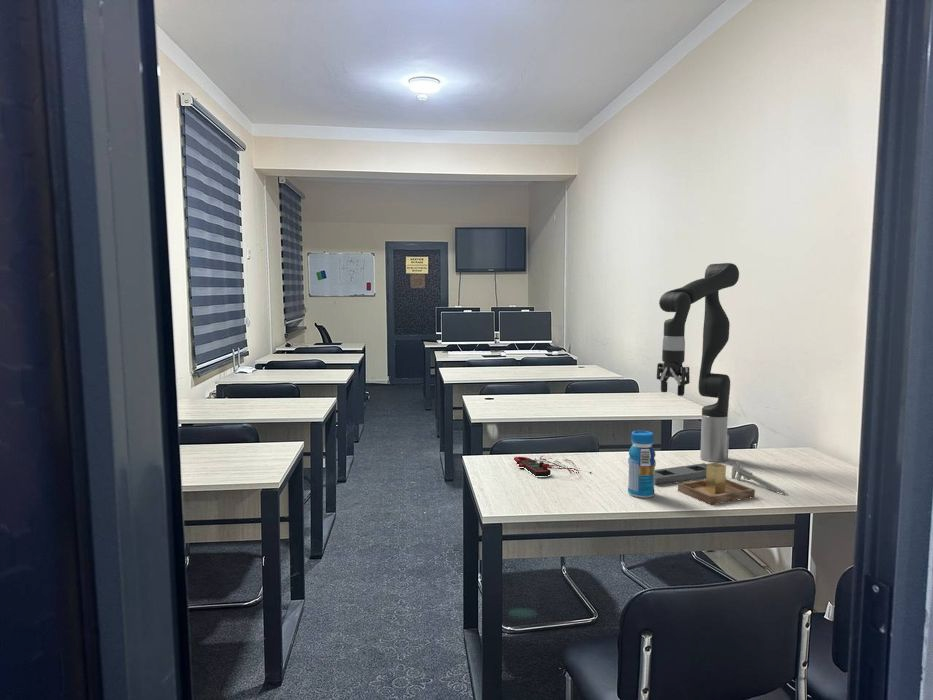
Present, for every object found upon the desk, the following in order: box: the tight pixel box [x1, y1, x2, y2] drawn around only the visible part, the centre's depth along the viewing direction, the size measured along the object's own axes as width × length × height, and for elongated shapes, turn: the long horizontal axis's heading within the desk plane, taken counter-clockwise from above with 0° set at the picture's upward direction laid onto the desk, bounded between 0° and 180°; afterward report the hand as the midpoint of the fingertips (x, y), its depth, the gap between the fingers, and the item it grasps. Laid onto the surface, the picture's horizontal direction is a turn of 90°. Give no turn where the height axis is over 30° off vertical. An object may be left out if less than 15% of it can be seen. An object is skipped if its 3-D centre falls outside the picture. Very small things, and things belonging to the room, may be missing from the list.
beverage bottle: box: [627, 430, 657, 499], centre depth 191 cm, size 8×8×20 cm
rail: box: [654, 462, 708, 487], centre depth 209 cm, size 28×8×2 cm, turn 112°
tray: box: [677, 478, 756, 505], centre depth 191 cm, size 18×14×2 cm
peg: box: [705, 462, 727, 494], centre depth 191 cm, size 4×4×8 cm
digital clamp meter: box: [513, 455, 580, 476], centre depth 220 cm, size 23×4×25 cm
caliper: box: [731, 461, 788, 496], centre depth 199 cm, size 20×1×6 cm, turn 27°
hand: (672, 393), depth 214 cm, fingers open, 8 cm apart
